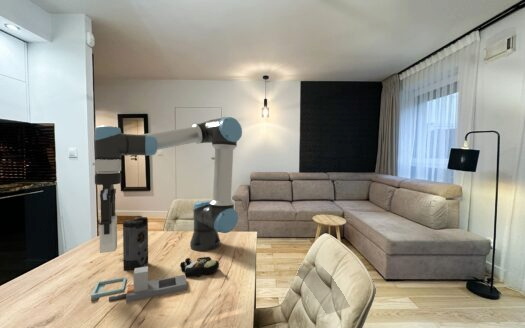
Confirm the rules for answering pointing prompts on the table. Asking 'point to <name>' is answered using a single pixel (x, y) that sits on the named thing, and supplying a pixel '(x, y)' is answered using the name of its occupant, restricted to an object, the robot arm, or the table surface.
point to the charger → (112, 246)
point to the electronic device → (135, 243)
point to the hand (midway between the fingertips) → (108, 240)
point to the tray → (99, 288)
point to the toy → (199, 267)
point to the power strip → (151, 286)
